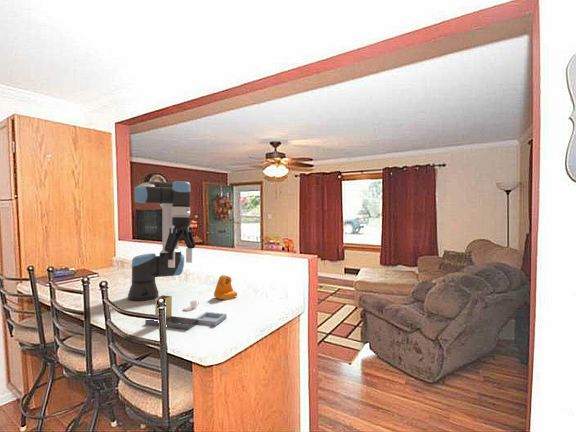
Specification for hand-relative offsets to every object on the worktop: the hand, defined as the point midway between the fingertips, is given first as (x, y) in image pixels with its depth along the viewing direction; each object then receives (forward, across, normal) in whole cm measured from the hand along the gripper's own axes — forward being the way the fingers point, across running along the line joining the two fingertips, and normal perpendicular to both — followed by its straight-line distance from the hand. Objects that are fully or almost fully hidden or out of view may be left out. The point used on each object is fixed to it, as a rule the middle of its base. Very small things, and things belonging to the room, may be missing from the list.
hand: (180, 264), depth 133 cm
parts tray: (+24, +1, -14) cm, 28 cm away
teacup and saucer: (+24, +14, +4) cm, 28 cm away
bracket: (+24, +36, -6) cm, 44 cm away
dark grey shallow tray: (+24, -8, -1) cm, 25 cm away
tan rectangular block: (+23, -8, +3) cm, 25 cm away
